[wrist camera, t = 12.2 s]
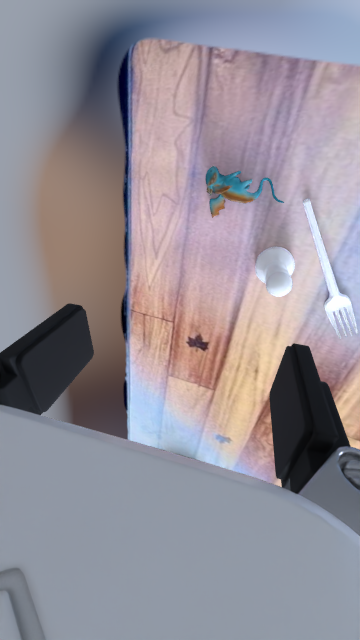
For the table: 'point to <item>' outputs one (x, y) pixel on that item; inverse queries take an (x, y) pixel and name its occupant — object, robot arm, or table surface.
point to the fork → (330, 279)
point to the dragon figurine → (230, 189)
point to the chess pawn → (275, 270)
